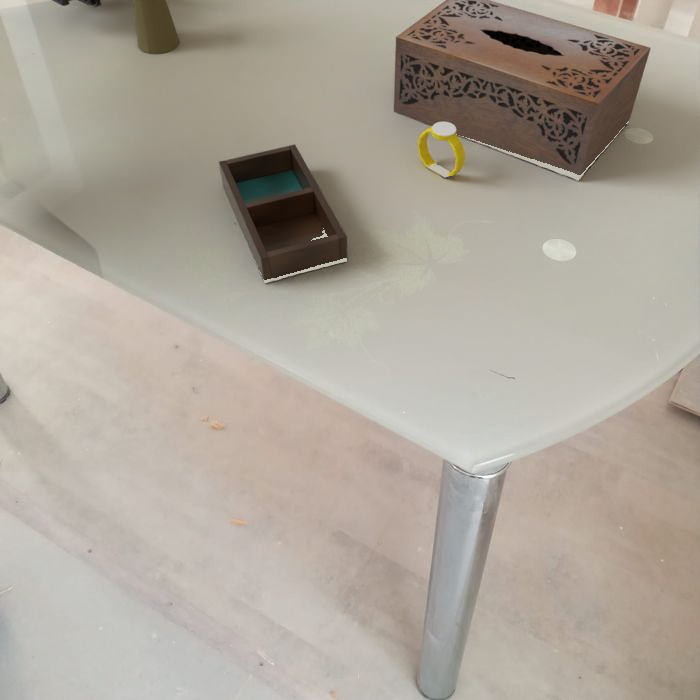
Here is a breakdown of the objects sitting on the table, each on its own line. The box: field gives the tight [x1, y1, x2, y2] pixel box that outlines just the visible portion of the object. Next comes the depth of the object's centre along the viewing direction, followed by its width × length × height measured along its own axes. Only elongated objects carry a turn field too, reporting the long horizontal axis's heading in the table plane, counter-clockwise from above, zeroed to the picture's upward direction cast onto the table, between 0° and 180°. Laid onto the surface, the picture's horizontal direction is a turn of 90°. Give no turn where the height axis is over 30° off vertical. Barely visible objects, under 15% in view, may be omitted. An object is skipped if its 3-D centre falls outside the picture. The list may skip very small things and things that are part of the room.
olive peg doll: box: [132, 0, 180, 55], centre depth 108 cm, size 6×6×11 cm
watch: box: [417, 122, 466, 177], centre depth 89 cm, size 6×3×6 cm, turn 46°
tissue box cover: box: [393, 0, 651, 175], centre depth 94 cm, size 26×14×10 cm, turn 54°
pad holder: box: [218, 143, 348, 280], centre depth 84 cm, size 9×17×4 cm, turn 20°
